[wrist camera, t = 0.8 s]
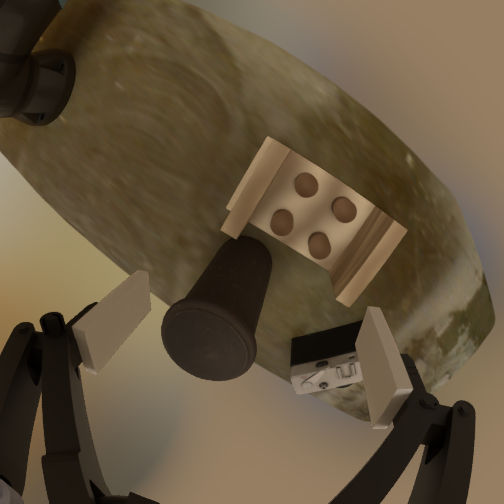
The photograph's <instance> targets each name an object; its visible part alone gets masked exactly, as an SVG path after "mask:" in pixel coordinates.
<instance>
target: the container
mask: <svg viewBox="0 0 504 504" xmlns="http://www.w3.org/2000/svg"><path fill="white" fill-rule="evenodd" d="M271 269H272V260H271V256H270V254H269V251H268V250H267V248H266V247H265V246H264V245H263V244H262V243H261V242H259V241H258V240H256V239H254V238H251V237H245V236H240V237H238V238H237V239H234V238H232V239H230V240H228V241H227V242H226V243H225V244H223V246H222V247H221V248H220V249H219V251H218V252H217V253H216V255H215V256H214V258H213V259H212V261H211V262H210V264H209V265H208V266H207V268H206V269H205V271H204V272H203V274H202V275H201V276H200V278H199V279H198V280H197V282H196V283H195V285H194V286H193V288H192V289H191V290H190V292H189V293H188V294H187V296H186V297H185V298H184V299H182V300H180V301H178V302H176V303H174V304H173V305H172V306H171V307H170V308H169V309H168V311H167V312H166V314H165V316H164V318H163V322H162V326H161V336H162V341H163V344H164V347H165V349H166V351H167V353H168V354H169V356H170V357H171V359H172V360H173V361H174V362H175V363H176V364H177V365H178V366H179V367H181V368H182V369H183V370H185V371H186V372H188V373H190V374H192V375H194V376H196V377H199V378H201V379H206V380H212V381H225V380H230V379H234V378H237V377H239V376H241V375H242V374H244V373H245V372H246V371H248V369H249V368H250V367H251V366H252V364H253V362H254V360H255V357H256V352H257V345H256V340H255V336H254V335H255V331H256V327H257V323H258V319H259V316H260V312H261V309H262V305H263V301H264V297H265V294H266V290H267V286H268V282H269V278H270V274H271Z"/></svg>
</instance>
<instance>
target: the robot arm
mask: <svg viewBox="0 0 504 504" xmlns="http://www.w3.org/2000/svg"><path fill="white" fill-rule="evenodd" d="M67 1H68V0H0V118H5V117H12V118H15V119H17V120H19V121H22V122H24V123H26V124H29V125H32V126H41V125H46V124H49V123H50V122H52V121H53V120H54V119H55V118H56V117H57V116H58V115H59V114H60V113H61V111H62V110H63V108H64V107H65V105H66V103H67V101H68V99H69V97H70V94H71V91H72V88H73V84H74V79H75V64H74V60H73V58H72V56H71V55H70V54H69V53H68V52H66V51H63V50H60V49H48V50H43V51H38V52H33V53H31V51H32V50H33V48H34V46H35V45H36V43H37V42H38V40H39V39H40V37H41V36H42V34H43V33H44V31H45V30H46V29H47V27H48V26H49V24H50V23H51V22H52V20H53V19H54V18H55V16H56V15H57V14H58V13H59V11H60V10H62V9H63V8H64V5H65V4H66V2H67ZM150 311H151V303H150V289H149V273H148V272H147V271H142V270H137V271H136V272H134V273H133V274H132V275H131V276H130V277H128V278H127V279H126V280H125V281H124V282H122V283H121V284H120V285H119V286H118V287H116V288H115V289H114V290H113V291H112V292H111V293H109V294H108V295H107V296H106V297H105V298H104V299H102V300H101V301H100V302H99V303H98V302H94V303H92V304H90V305H88V306H87V307H85V308H84V309H83V310H82V311H81V312H80V313H79V314H78V315H76V316H75V317H74V318H73V319H71V320H70V321H69V322H68V323H67V324H66V325H65V322H64V318H63V315H61V313H58V312H50V313H47V314H45V315H43V316H42V317H41V318H40V324H41V328H42V331H43V332H37V331H35V328H34V326H33V324H32V323H30V322H23V323H20V324H18V325H17V326H16V327H15V328H14V329H13V331H12V333H11V335H10V337H9V339H8V341H7V343H6V345H5V346H4V349H3V351H2V352H1V355H0V504H24V502H23V500H22V494H23V490H24V486H25V479H26V470H27V462H28V455H29V448H30V442H31V436H32V431H33V426H34V421H35V416H36V412H37V407H38V403H39V399H40V395H41V391H42V412H43V428H44V437H45V446H46V455H43V456H42V469H43V474H44V480H45V485H46V491H47V495H48V500H49V504H160V503H158V502H156V501H153V500H150V499H148V498H145V497H142V496H140V495H137V494H135V493H132V492H130V493H129V496H120V495H117V496H116V495H114V496H113V495H111V493H110V491H109V489H108V487H107V486H106V484H105V481H104V479H103V476H102V472H101V469H100V466H99V463H98V459H97V456H96V452H95V448H94V444H93V440H92V436H91V431H90V427H89V422H88V417H87V413H86V407H85V401H84V395H83V389H82V383H81V375H80V369H79V367H78V366H79V365H80V364H81V363H82V362H83V365H84V368H85V370H86V371H88V372H91V373H93V374H96V375H97V374H98V373H99V372H100V371H101V369H102V368H103V367H104V366H105V365H106V363H107V362H108V361H109V360H110V358H111V357H112V356H113V355H114V353H115V352H116V351H117V350H118V349H119V347H120V346H121V345H122V344H123V343H124V341H125V340H126V339H127V338H128V337H129V335H130V334H131V333H132V332H133V331H134V329H135V328H136V327H137V326H138V325H139V323H140V322H141V321H142V320H143V319H144V318H145V316H146V315H147V314H148V313H149V312H150ZM355 346H356V350H357V354H358V359H359V363H360V368H361V372H362V377H363V382H364V386H365V391H366V396H367V402H368V407H369V412H370V418H371V423H372V428H373V429H387V428H388V426H389V425H390V424H391V422H392V421H393V425H394V428H393V430H392V431H391V432H390V434H389V435H388V436H387V438H386V439H385V441H384V442H383V443H382V444H381V446H380V447H379V448H378V450H377V451H376V452H375V453H374V455H373V456H372V457H371V458H370V460H369V461H368V462H367V463H366V464H365V465H364V467H363V468H362V469H361V470H360V471H359V472H358V473H357V475H356V476H355V477H354V478H353V479H352V480H351V481H350V482H349V483H348V484H347V485H346V486H345V487H344V489H342V490H341V491H340V493H339V494H338V495H337V496H335V497H334V499H332V501H330V502H329V503H328V504H380V503H381V502H382V500H383V499H384V498H385V496H386V495H387V494H388V492H389V491H390V490H391V488H392V487H393V486H394V484H395V483H396V481H397V480H398V479H399V477H400V476H401V474H402V473H403V471H404V470H405V468H406V467H407V465H408V463H409V462H410V460H411V459H412V457H413V455H414V454H415V452H416V451H417V449H418V447H419V445H420V444H423V445H425V448H424V452H423V456H422V460H421V464H420V467H419V471H418V474H417V477H416V481H415V484H414V487H413V490H412V493H411V496H410V498H409V501H408V504H466V500H467V496H468V490H469V484H470V478H471V471H472V470H471V469H472V462H473V453H474V440H475V409H474V407H473V406H472V405H471V404H470V403H468V402H466V401H463V400H460V401H457V402H456V403H455V404H454V405H453V407H449V406H444V405H440V404H439V401H438V400H437V398H436V397H434V396H433V395H432V394H429V393H427V392H426V390H425V387H424V385H423V382H422V380H421V377H420V375H419V374H418V370H417V369H416V366H415V363H414V361H413V360H412V359H411V357H410V356H409V355H408V354H400V353H399V351H398V348H397V346H396V343H395V341H394V339H393V336H392V334H391V332H390V329H389V327H388V325H387V323H386V320H385V318H384V316H383V314H382V311H381V309H380V308H379V307H370V306H368V307H367V311H366V314H365V317H364V320H363V323H362V326H361V329H360V331H359V334H358V337H357V340H356V343H355Z"/></svg>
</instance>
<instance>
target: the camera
mask: <svg viewBox="0 0 504 504" xmlns="http://www.w3.org/2000/svg"><path fill="white" fill-rule="evenodd" d="M362 323H363V321H360V322H356V323H353V324H349V325H345V326H342V327H338V328H334V329H330V330H326V331H322V332H318V333H314V334H310V335H306V336H302V337H297V338H293V339H292V346H291V362H290V366H291V381H292V384H293V386H294V388H295V391H296V394H298V395H299V394H305V393H311V392H316V391H321V390H326V389H331V388H335V387H336V388H345V387H348V386H350V385H352V384H353V383H355V382H359V381H363V377H362V372H361V368H360V363H359V359H358V354H357V350H356V346H355V343H356V340H357V337H358V334H359V331H360V329H361V326H362Z"/></svg>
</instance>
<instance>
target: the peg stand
mask: <svg viewBox="0 0 504 504" xmlns="http://www.w3.org/2000/svg"><path fill="white" fill-rule="evenodd" d="M226 209H228V210H230V211H231V212H230V213H229V215H228V217H227V219H226V221H225V222H224V224H223V226H222V228H221V229H220V230H221V231H223V232H224V233H226V234H228V235H229V236H231V237H233V238H234V239H237V238H238V236H239V235H240V233H241V232H242V230H243V229H244V227H245V226H246V224H247V223H248V222H250V223H251V224H253V225H255V226H256V227H258V228H260V229H261V230H263V231H265V232H266V233H268V234H270V235H271V236H273V237H274V238H276V239H278V240H279V241H281V242H283V243H284V244H286V245H288V246H289V247H291V248H292V249H294V250H296V251H297V252H299V253H301V254H302V255H304V256H305V257H307V258H309V259H310V260H312V261H313V262H315V263H317V264H318V265H320V266H321V267H323V268H325V269H326V270H328V271H329V273H330V277H331V281H332V285H333V289H334V294H335V298H336V300H338V301H339V302H341V303H343V304H344V305H346V306H348V307H350V306H351V305H352V303H353V302H354V301H355V300H356V299H357V297H358V296H359V295H360V294H361V292H362V291H363V290H364V289H365V287H366V286H367V285H368V284H369V282H370V281H371V280H372V279H373V277H374V276H375V275H376V273H377V272H378V271H379V269H380V268H381V267H382V265H383V264H384V263H385V261H386V260H387V259H388V257H389V256H390V255H391V253H392V252H393V251H394V249H395V248H396V246H397V245H398V244H399V242H400V241H401V239H402V238H403V236H404V235H405V234H406V232H407V230H406V229H405V228H404V227H402V226H401V225H400V224H399V223H397V222H396V221H395V220H394V219H392V218H391V217H390V216H388V215H387V214H386V213H384V212H383V211H382V210H380V209H379V208H377V207H376V206H375V205H373V204H372V203H371V202H369V201H368V200H366V199H365V198H364V197H362V196H361V195H360V194H358V193H357V192H355V191H354V190H352V189H351V188H350V187H348V186H347V185H345V184H344V183H342V182H341V181H339V180H338V179H336V178H335V177H333V176H332V175H330V174H329V173H327V172H326V171H324V170H323V169H321V168H320V167H318V166H317V165H315V164H313V163H312V162H310V161H309V160H307V159H305V158H304V157H302V156H301V155H299V154H297V153H296V152H294V151H292V150H291V149H289V148H288V147H286V146H284V145H283V144H281V143H279V142H278V141H276V140H274V139H272V138H270V137H268V136H267V138H266V140H265V141H264V143H263V145H262V146H261V148H260V150H259V151H258V153H257V155H256V156H255V158H254V160H253V161H252V163H251V165H250V166H249V168H248V170H247V172H246V173H245V175H244V177H243V179H242V180H241V182H240V184H239V185H238V187H237V189H236V191H235V192H234V194H233V196H232V198H231V200H230V201H229V203H228V205H227V207H226Z"/></svg>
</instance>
